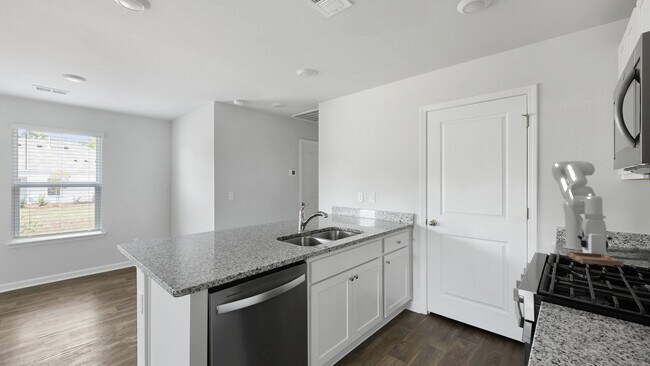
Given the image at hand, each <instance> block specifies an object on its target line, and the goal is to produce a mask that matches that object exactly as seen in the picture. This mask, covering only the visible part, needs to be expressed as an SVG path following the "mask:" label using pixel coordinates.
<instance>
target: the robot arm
mask: <svg viewBox="0 0 650 366" xmlns="http://www.w3.org/2000/svg"><path fill="white" fill-rule="evenodd" d="M595 170H596V168H595V166H594V164H592V163H591V162H589V161H585V160H584V161H583V160H582V161H581V160H579V161H578V160H575V161H573V160H572V161H568V160H567V161H557V162H555V163H553V164H552V166H551V172H552V173H551V174H552V176H553V178H554V179H555V181H556V182H557V184H558V186H559V191H560V193H561V195H562V197H563V199H565V200H564V202H563V203H562V204H563V205H562V206H563V207H562V208H563V212H564V221H565V223H564V224H565V225H564V226H565V244H563V245H562V248H564V249H568V250H575V251H583V247H584V248H586V241H585V239H586V238H587V237H589V234H597V235H606V250H608V248H609V242H610V241H611V240H612V239H613V238H614V237H615V234H614V233H612V232H610V231H608V230H607V225H606V222H605V220H604V219H606V218H607V217H606V215H603V214H604V213H603V211H604V209H603V197H602V196H599V195H596V193H595V191H594V189H593V188H592V187H591V186H589V185H588V183H589V182H588V178H587V177H586V176H589V177H590V176H593V175H594V173H595ZM582 215H584V218H583V217H582ZM583 233H584V235H583Z"/></svg>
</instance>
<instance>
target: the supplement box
mask: <svg viewBox="0 0 650 366" xmlns="http://www.w3.org/2000/svg"><path fill="white" fill-rule="evenodd" d="M583 235H584V233H583ZM606 238H607V237H606V235H597V234H589V237H587V238H586V239H585V241H586V248H584V247H583V250H582V253H596V254H604V255H607V249H606Z"/></svg>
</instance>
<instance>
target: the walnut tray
mask: <svg viewBox="0 0 650 366" xmlns="http://www.w3.org/2000/svg"><path fill="white" fill-rule="evenodd" d="M565 256H566V257H567V256H569V257H568V258H570V257H571V258H570V259H572V260H574V261H577V262H578V263H580V264H582V265H586V264H585V263H586V262H588V263H589V264H588V265H593V264H598V266H606V265H607V266H608V267H616V266H615V265H620V266H621V267H620V268H623V267H624V266H625V264H624V261H623V260H621V259H618V258H614V257H612V256H609V255H607V254H606V255H604V254H596V253H583V252H579V251H566V255H565Z"/></svg>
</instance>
